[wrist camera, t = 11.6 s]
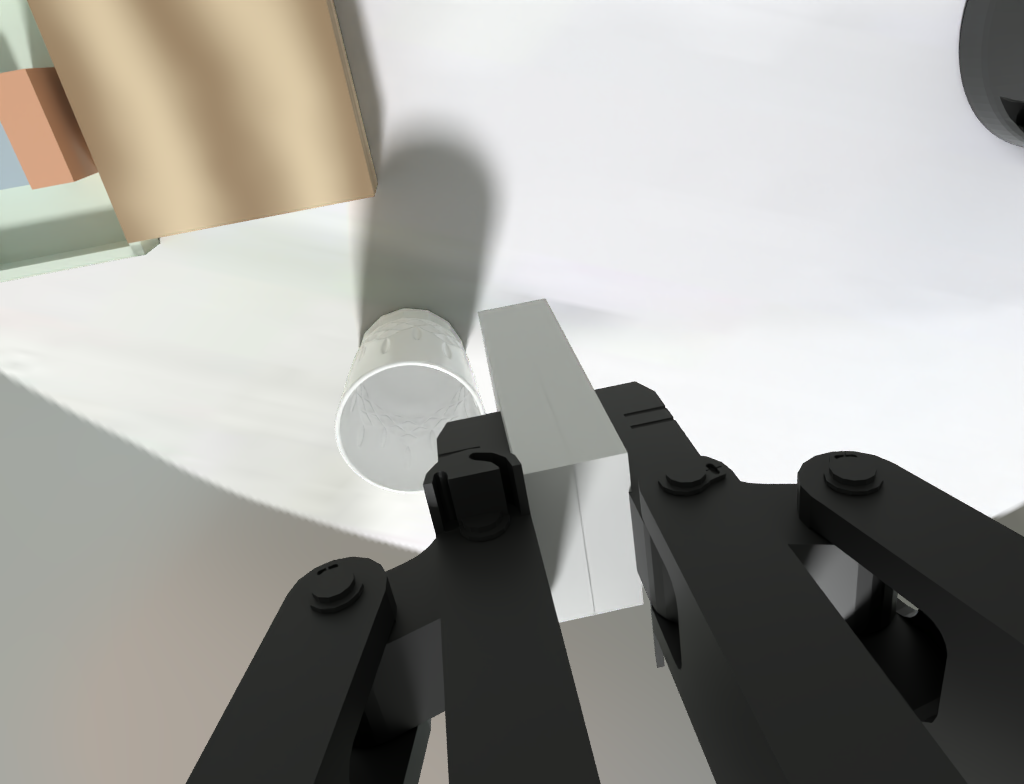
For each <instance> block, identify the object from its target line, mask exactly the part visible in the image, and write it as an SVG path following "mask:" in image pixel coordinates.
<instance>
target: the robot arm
mask: <svg viewBox="0 0 1024 784" xmlns="http://www.w3.org/2000/svg"><path fill="white" fill-rule="evenodd" d="M959 59H960V72H961V78H962V83H963V87H964V91H965V94H966V97H967V99H968V102H969V104H970V106H971V108H972V110H973V112H974V113H975V115H976V117H977V118H978V119H979V120H980V122H981V123H982V124H983V125H984V126H985V127H986V128H987V129H988V130H989V131H990V132H991V133H993V134H994V135H996V136H997V137H998V138H1000V139H1002V140H1004V141H1006V142H1008V143H1011V144H1014V145H1017V146H1021V147H1024V0H968V3H967V6H966V10H965V14H964V18H963V23H962V29H961V36H960V51H959ZM478 316H479V321H480V326H481V331H482V336H483V342H484V347H485V352H486V357H487V362H488V367H489V372H490V377H491V382H492V387H493V392H494V397H495V403H496V408H497V412H494V413H489V414H485V415H480V416H475V417H470V418H465V419H460V420H455V421H451V422H447V423H446V424H445V426H444V428H443V429H442V431H441V432H440V434H439V436H438V437H437V454H438V462H437V463H436V464H435V465H434V466H433V467H432V468H431V469H430V470H429V471H428V472H427V473H426V476H425V479H424V482H423V488H424V492H425V495H426V499H427V503H428V507H429V510H430V514H431V518H432V522H433V525H434V529H435V533H436V539H435V540H434V541H433V542H432V544H431V545H430V546H429V547H428V548H427V549H426V550H424V551H423V552H422V553H421V554H419V555H418V556H417V557H415V558H413V559H411V560H409V561H408V562H406V563H404V564H402V565H399V566H397V567H395V568H393V569H391V570H388V571H386V572H385V571H384V569H383V567H382V566H381V565H380V564H379V563H376V562H375V561H373V560H371V559H369V558H360V557H348V558H343V559H338V560H333V561H330V562H328V563H326V564H323V565H321V566H319V567H317V568H315V569H313V570H312V571H310V572H309V573H308V574H306V575H305V576H304V577H302V578H301V579H299V580H298V582H297V583H296V584H295V585H294V587H293V588H292V589H291V591H290V592H289V593H288V595H287V596H286V598H285V600H284V602H283V604H282V606H281V607H280V609H279V611H278V613H277V615H276V617H275V618H274V620H273V622H272V624H271V626H270V628H269V630H268V632H267V633H266V635H265V637H264V639H263V641H262V643H261V645H260V647H259V648H258V650H257V652H256V654H255V656H254V658H253V659H252V661H251V663H250V665H249V667H248V669H247V671H246V672H245V675H244V676H243V678H242V680H241V682H240V684H239V686H238V687H237V689H236V691H235V693H234V695H233V697H232V699H231V700H230V702H229V704H228V706H227V708H226V710H225V711H224V713H223V715H222V717H221V719H220V721H219V723H218V725H217V726H216V728H215V730H214V732H213V734H212V736H211V738H210V740H209V741H208V743H207V745H206V747H205V749H204V751H203V752H202V754H201V756H200V758H199V760H198V762H197V764H196V766H195V767H194V769H193V771H192V773H191V775H190V777H189V779H188V780H187V782H186V784H418V782H419V777H420V773H421V769H422V765H423V760H424V756H425V752H426V748H427V743H428V739H429V735H430V731H431V718H432V717H434V716H436V715H438V714H440V713H442V712H444V711H445V716H446V733H447V754H448V773H449V784H600V780H599V776H598V772H597V768H596V764H595V761H594V756H593V753H592V749H591V745H590V741H589V737H588V733H587V729H586V726H585V722H584V718H583V714H582V710H581V706H580V703H579V698H578V695H577V691H576V687H575V683H574V679H573V675H572V671H571V668H570V664H569V660H568V656H567V652H566V648H565V645H564V641H563V637H562V633H561V629H560V625H559V622H564V621H569V620H573V619H578V618H582V617H587V616H591V615H596V614H601V613H605V612H610V611H614V610H619V609H623V608H628V607H633V606H637V605H642V604H643V596H642V586H641V581H642V584H643V586H644V588H645V590H646V593H647V595H648V598H649V600H650V605H651V615H652V625H653V636H654V646H655V656H656V662H657V668H658V667H663V666H664V657H665V660H666V662H667V664H668V667H669V669H670V672H671V674H672V676H673V679H674V681H675V684H676V686H677V689H678V691H679V693H680V696H681V698H682V701H683V703H684V706H685V708H686V710H687V713H688V716H689V718H690V720H691V723H692V725H693V727H694V730H695V732H696V735H697V737H698V740H699V742H700V745H701V747H702V750H703V752H704V754H705V757H706V759H707V762H708V764H709V767H710V769H711V772H712V774H713V776H714V779H715V781H716V784H1024V537H1023V536H1021V535H1020V534H1018V533H1016V532H1014V531H1013V530H1011V529H1009V528H1007V527H1006V526H1004V525H1002V524H1000V523H998V522H997V521H995V520H993V519H991V518H990V517H988V516H986V515H984V514H983V513H981V512H979V511H977V510H975V509H974V508H972V507H970V506H968V505H967V504H965V503H963V502H961V501H960V500H958V499H956V498H954V497H952V496H951V495H949V494H947V493H945V492H944V491H942V490H940V489H938V488H937V487H935V486H933V485H931V484H929V483H928V482H926V481H924V480H922V479H921V478H919V477H917V476H915V475H913V474H912V473H910V472H908V471H906V470H905V469H903V468H901V467H899V466H898V465H896V464H894V463H892V462H890V461H887V460H885V459H882V458H880V457H878V456H875V455H871V454H865V453H860V452H854V451H839V452H829V453H825V454H821V455H817V456H814V457H813V458H811V459H809V460H808V461H806V462H805V463H803V464H802V466H801V468H800V470H799V472H798V475H797V484H755V483H746V482H741V481H740V480H739V479H738V478H737V476H736V475H735V474H734V472H733V471H732V470H731V469H729V468H728V467H727V466H726V465H725V464H723V463H722V462H720V461H717V460H715V459H712V458H709V457H706V456H700V454H699V453H698V452H697V450H696V449H695V447H694V446H693V445H692V443H691V442H690V440H689V439H688V437H687V436H686V435H685V433H684V432H683V430H682V429H681V428H680V426H679V425H678V423H677V422H676V420H674V419H673V416H672V415H671V413H670V412H669V411H668V409H667V408H665V405H664V404H663V402H662V401H661V399H660V398H659V396H658V395H657V394H656V392H655V391H653V390H651V389H649V388H647V387H645V386H643V385H641V384H639V383H637V382H631V383H626V384H621V385H616V386H611V387H606V388H601V389H596V390H594V389H593V387H592V385H591V383H590V381H589V379H588V378H587V376H586V374H585V372H584V370H583V368H582V366H581V364H580V362H579V361H578V359H577V357H576V355H575V353H574V351H573V349H572V347H571V346H570V344H569V342H568V340H567V338H566V336H565V334H564V332H563V331H562V329H561V327H560V325H559V323H558V321H557V319H556V317H555V316H554V314H553V312H552V310H551V308H550V306H549V304H548V302H547V301H546V299H540V300H535V301H530V302H525V303H520V304H515V305H510V306H505V307H500V308H495V309H490V310H485V311H480V312H478ZM898 593H899V594H900V595H901V596H903V597H904V598H905V599H907V600H908V601H909V602H911V603H912V604H913V605H915V606H916V607H917V608H919V609H918V611H917V610H914V609H912V608H911V607H909V606H907V605H906V604H905V603H903V602H902V601H901V600H899V599H898V598H897V594H898ZM663 656H664V657H663Z"/></svg>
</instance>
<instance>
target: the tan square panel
mask: <svg viewBox="0 0 1024 784" xmlns="http://www.w3.org/2000/svg"><path fill="white" fill-rule="evenodd" d="M27 2H28V4H29V7H30V9H31V11H32V14H33V16H34V19H35V21H36V23H37V26H38V28H39V31H40V33H41V35H42V38H43V40H44V43H45V45H46V47H47V50H48V52H49V55H50V57H51V60H52V62H53V64H54V67H55V69H56V72H57V74H58V76H59V79H60V81H61V84H62V86H63V88H64V91H65V93H66V96H67V98H68V100H69V103H70V105H71V108H72V110H73V112H74V115H75V117H76V120H77V122H78V124H79V127H80V129H81V132H82V134H83V136H84V139H85V141H86V144H87V146H88V148H89V151H90V153H91V156H92V158H93V160H94V163H95V165H96V168H97V170H98V172H99V175H100V177H101V180H102V182H103V185H104V187H105V189H106V192H107V194H108V197H109V199H110V201H111V204H112V206H113V209H114V211H115V213H116V216H117V218H118V221H119V223H120V225H121V228H122V230H123V233H124V235H125V237H126V240H127V242H128V243H134V242H139V241H144V240H149V239H155V238H160V237H165V236H170V235H175V234H181V233H186V232H191V231H196V230H202V229H207V228H212V227H217V226H222V225H228V224H233V223H238V222H243V221H249V220H254V219H259V218H264V217H269V216H275V215H280V214H285V213H290V212H296V211H301V210H306V209H311V208H316V207H322V206H327V205H332V204H337V203H343V202H348V201H353V200H358V199H363V198H369V197H374V196H375V193H376V189H377V185H378V182H377V178H376V174H375V170H374V166H373V162H372V157H371V153H370V149H369V145H368V141H367V137H366V133H365V129H364V125H363V120H362V116H361V112H360V108H359V104H358V100H357V96H356V92H355V88H354V83H353V79H352V75H351V71H350V67H349V63H348V59H347V55H346V51H345V47H344V42H343V38H342V34H341V30H340V26H339V22H338V18H337V14H336V10H335V5H334V1H333V0H27Z"/></svg>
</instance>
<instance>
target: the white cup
mask: <svg viewBox="0 0 1024 784" xmlns="http://www.w3.org/2000/svg"><path fill="white" fill-rule="evenodd" d="M485 414H486V413H485V409H484V406H483V403H482V400H481V397H480V393H479V390H478V386H477V383H476V379H475V376H474V373H473V370H472V368H471V365H470V362H469V359H468V357H467V354H466V352H465V350H464V348H463V344H462V341H461V339H460V338H459V336H458V335H457V333H456V332H455V330H454V329H453V327H452V326H451V325H450V323H449V322H448V321H446V320H445V319H443V318H441V317H439V316H437V315H436V314H434V313H432V312H430V311H429V310H421V309H409V308H402V309H400V310H397V311H394V312H391V313H389V314H386V315H383V316H381V317H380V318H379V319H378V320H377V321H376V322H375V323H374V324H373V325H372V326H371V327H370V328H369V329H368V330H367V331H366V332H365V333H364V337H363V340H362V343H361V346H360V348H359V350H358V351H357V353H356V355H355V357H354V360H353V363H352V366H351V368H350V371H349V374H348V376H347V380H346V384H345V387H344V391H343V394H342V396H341V400H340V403H339V406H338V409H337V413H336V418H335V437H336V442H337V445H338V448H339V451H340V453H341V455H342V457H343V458H344V460H345V461H346V463H347V464H348V465H349V467H350V468H351V469H352V470H353V471H354V472H355V473H356V474H357V475H359V476H360V477H361V478H362V479H364V480H365V481H367V482H369V483H371V484H372V485H375V486H377V487H379V488H382V489H385V490H388V491H393V492H399V493H422V492H424V488H423V482H424V479H425V476H426V473H427V472H428V471H429V470H430V469H431V468H432V467H433V466H434V465H435V464H436V463H437V462H438V454H437V437H438V436H439V434H440V432H441V431H442V429H443V428H444V426H445V424H446V423H447V422H451V421H455V420H460V419H465V418H470V417H475V416H480V415H485Z"/></svg>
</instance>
